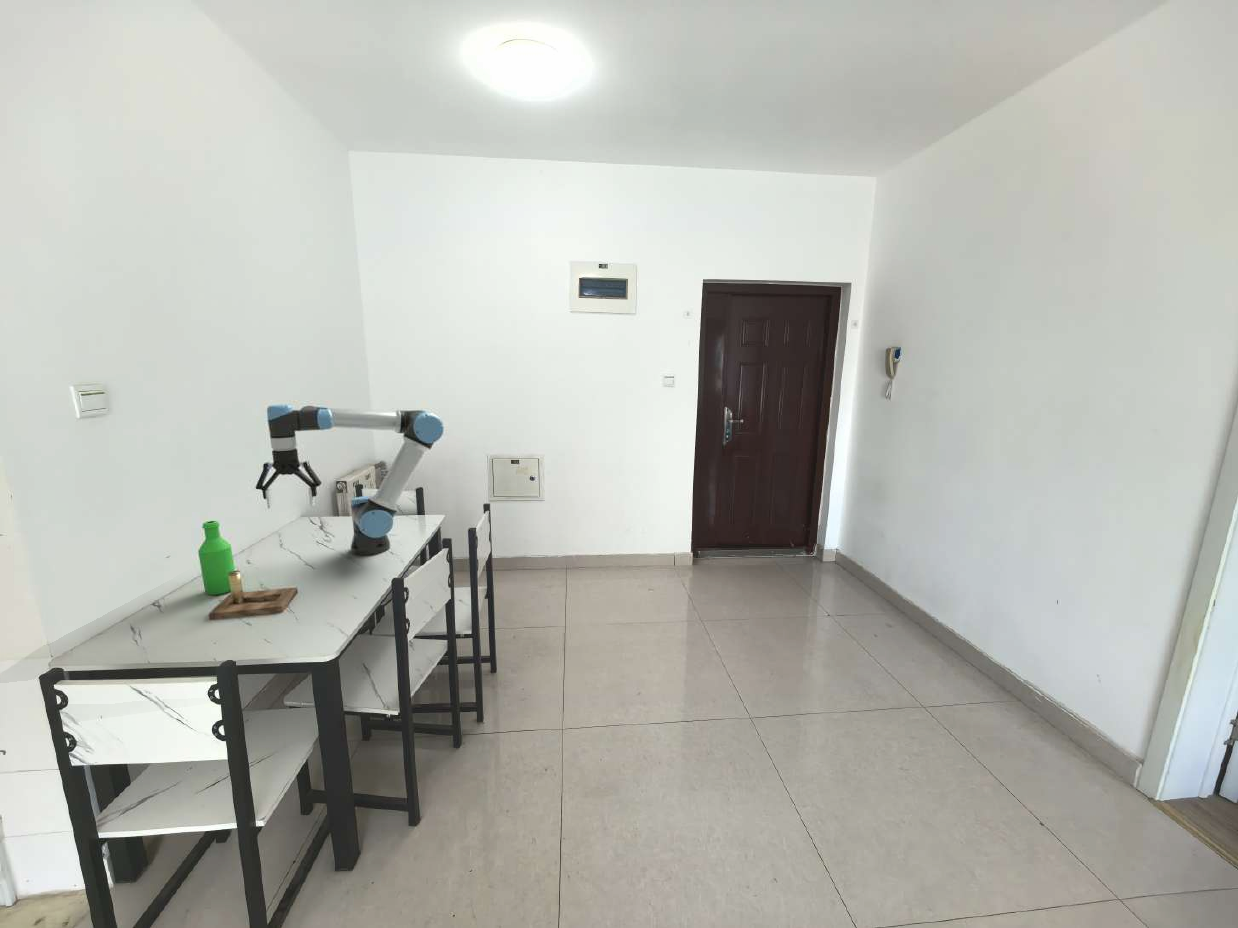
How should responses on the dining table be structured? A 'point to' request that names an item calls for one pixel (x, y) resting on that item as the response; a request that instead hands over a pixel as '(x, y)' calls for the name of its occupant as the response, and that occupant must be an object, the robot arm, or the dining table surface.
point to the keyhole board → (255, 603)
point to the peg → (236, 587)
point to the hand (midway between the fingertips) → (291, 506)
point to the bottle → (215, 560)
